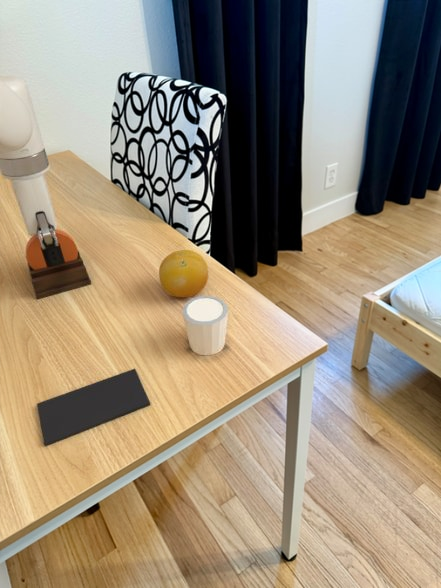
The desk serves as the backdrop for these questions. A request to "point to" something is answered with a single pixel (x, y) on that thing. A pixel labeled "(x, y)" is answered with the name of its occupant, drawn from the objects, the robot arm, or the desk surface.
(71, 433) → the mat
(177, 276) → the fruit
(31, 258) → the disc
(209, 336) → the shot glass
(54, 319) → the desk surface
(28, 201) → the robot arm
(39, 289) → the rack
